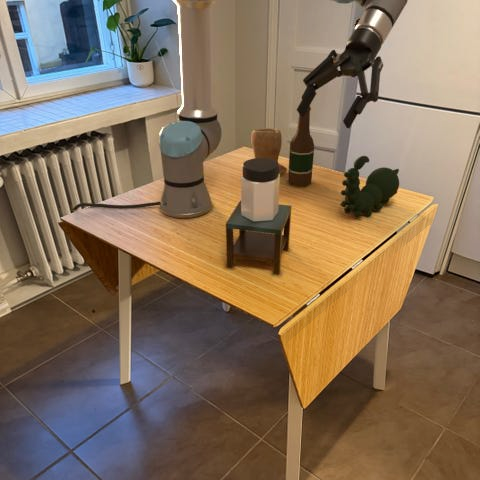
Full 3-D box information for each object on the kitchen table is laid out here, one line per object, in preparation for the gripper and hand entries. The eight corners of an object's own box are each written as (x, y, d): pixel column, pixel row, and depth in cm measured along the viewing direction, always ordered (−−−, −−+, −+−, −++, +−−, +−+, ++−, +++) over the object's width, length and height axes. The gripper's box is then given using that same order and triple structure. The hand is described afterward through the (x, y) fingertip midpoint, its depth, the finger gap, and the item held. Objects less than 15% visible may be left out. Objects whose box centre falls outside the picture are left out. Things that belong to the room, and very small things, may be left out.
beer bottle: (315, 184, 155) (323, 106, 140) (296, 189, 152) (301, 110, 137) (302, 176, 160) (307, 101, 145) (283, 181, 157) (286, 104, 142)
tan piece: (270, 164, 169) (271, 121, 160) (292, 174, 161) (294, 129, 152) (236, 174, 162) (235, 129, 153) (257, 185, 154) (258, 139, 145)
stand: (227, 267, 115) (225, 223, 108) (240, 242, 125) (240, 200, 118) (278, 274, 113) (281, 229, 105) (288, 248, 122) (291, 205, 115)
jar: (285, 215, 111) (288, 165, 103) (259, 225, 107) (260, 174, 99) (260, 203, 116) (261, 154, 109) (234, 212, 112) (233, 162, 105)
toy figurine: (357, 232, 132) (407, 199, 144) (364, 168, 119) (419, 137, 131) (331, 221, 138) (381, 190, 149) (335, 159, 125) (390, 130, 136)
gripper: (420, 56, 106) (372, 139, 107) (330, 43, 120) (288, 117, 121) (413, 31, 100) (362, 120, 101) (319, 21, 113) (275, 99, 115)
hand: (322, 119), depth 111 cm, fingers open, 13 cm apart
